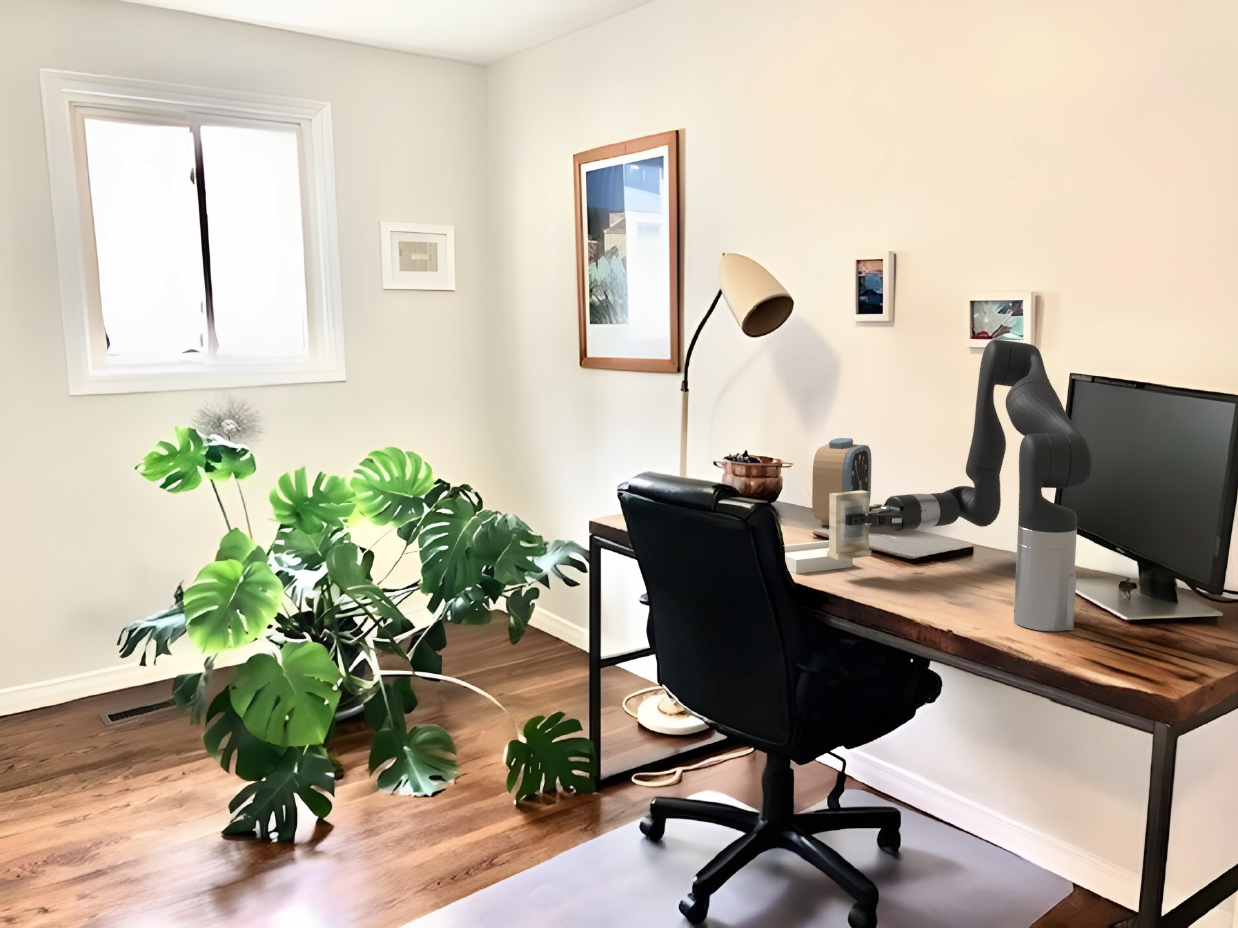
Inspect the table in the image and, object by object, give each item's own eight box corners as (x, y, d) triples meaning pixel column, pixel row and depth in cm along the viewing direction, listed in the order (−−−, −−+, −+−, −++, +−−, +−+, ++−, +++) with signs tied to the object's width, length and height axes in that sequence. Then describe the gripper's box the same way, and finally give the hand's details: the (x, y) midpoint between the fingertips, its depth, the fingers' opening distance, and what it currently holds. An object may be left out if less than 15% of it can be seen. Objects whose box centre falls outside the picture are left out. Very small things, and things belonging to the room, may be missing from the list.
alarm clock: (848, 531, 240) (850, 446, 237) (811, 528, 245) (813, 444, 241) (870, 516, 258) (872, 436, 254) (836, 513, 262) (837, 435, 259)
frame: (859, 551, 201) (860, 489, 199) (871, 555, 197) (871, 492, 195) (827, 555, 198) (827, 493, 196) (838, 560, 194) (838, 495, 192)
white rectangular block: (831, 558, 214) (831, 540, 213) (852, 566, 206) (852, 547, 206) (776, 565, 209) (776, 546, 208) (796, 573, 201) (796, 554, 201)
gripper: (891, 489, 208) (823, 495, 201) (934, 499, 195) (862, 506, 188) (890, 523, 209) (822, 530, 202) (933, 535, 196) (862, 543, 189)
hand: (842, 518), depth 195 cm, fingers closed on frame, 3 cm apart
